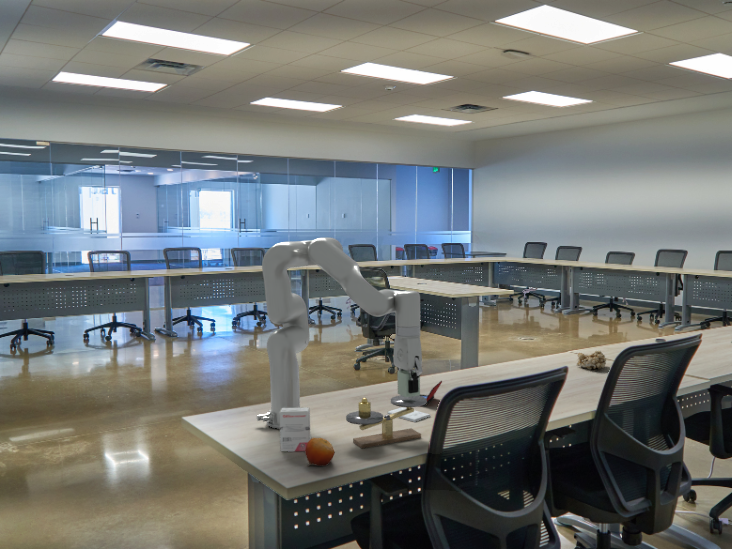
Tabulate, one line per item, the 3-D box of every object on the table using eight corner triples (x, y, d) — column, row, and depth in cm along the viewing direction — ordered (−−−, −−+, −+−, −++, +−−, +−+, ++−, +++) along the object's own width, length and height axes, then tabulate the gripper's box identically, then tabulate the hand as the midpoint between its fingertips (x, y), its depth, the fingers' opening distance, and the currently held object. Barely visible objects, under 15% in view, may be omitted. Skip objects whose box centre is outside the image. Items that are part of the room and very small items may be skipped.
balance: (356, 453, 172) (355, 405, 171) (340, 441, 182) (339, 395, 181) (433, 438, 183) (433, 393, 182) (415, 428, 193) (414, 385, 192)
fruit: (298, 454, 168) (313, 429, 168) (323, 467, 169) (337, 442, 169) (297, 465, 160) (313, 439, 160) (323, 478, 161) (338, 453, 160)
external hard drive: (403, 411, 214) (430, 418, 205) (387, 416, 208) (414, 423, 200) (403, 406, 214) (430, 413, 205) (387, 411, 208) (414, 419, 199)
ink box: (311, 445, 179) (310, 406, 178) (310, 451, 174) (309, 411, 173) (281, 446, 178) (281, 406, 178) (279, 452, 174) (279, 411, 173)
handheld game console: (415, 396, 231) (415, 377, 231) (442, 399, 227) (442, 380, 227) (404, 405, 220) (404, 385, 219) (433, 408, 216) (433, 388, 215)
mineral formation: (605, 365, 279) (612, 370, 264) (575, 369, 282) (580, 375, 267) (602, 348, 279) (609, 352, 265) (572, 352, 282) (577, 357, 267)
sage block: (405, 397, 182) (405, 374, 181) (397, 393, 186) (397, 371, 186) (420, 395, 184) (419, 372, 183) (411, 391, 188) (411, 369, 188)
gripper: (384, 328, 190) (384, 386, 191) (411, 336, 174) (412, 398, 176) (404, 326, 193) (405, 383, 194) (433, 334, 178) (434, 395, 179)
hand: (408, 389), depth 185 cm, fingers closed on sage block, 5 cm apart
